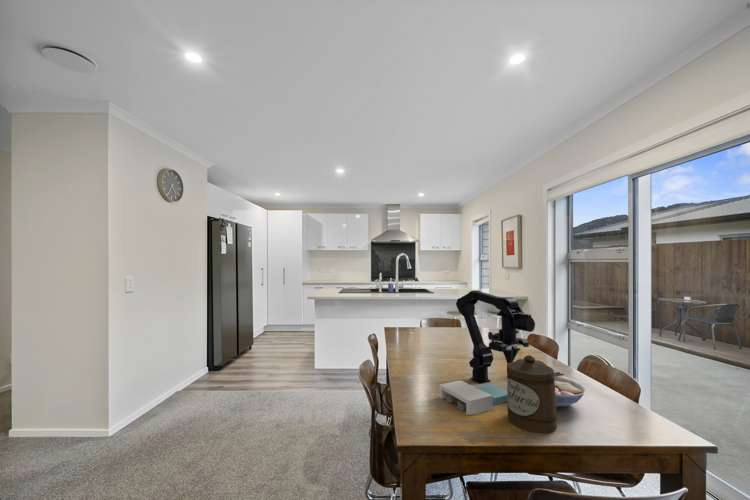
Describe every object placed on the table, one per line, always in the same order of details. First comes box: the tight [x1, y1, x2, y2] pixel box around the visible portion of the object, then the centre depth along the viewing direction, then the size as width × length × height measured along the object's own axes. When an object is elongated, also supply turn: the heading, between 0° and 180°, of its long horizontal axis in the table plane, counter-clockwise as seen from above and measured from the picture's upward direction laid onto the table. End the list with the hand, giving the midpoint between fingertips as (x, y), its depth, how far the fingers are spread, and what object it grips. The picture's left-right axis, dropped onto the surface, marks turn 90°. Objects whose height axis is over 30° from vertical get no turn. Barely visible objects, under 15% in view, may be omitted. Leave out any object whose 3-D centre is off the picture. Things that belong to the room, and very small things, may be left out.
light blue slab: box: [474, 382, 507, 405], centre depth 126 cm, size 10×12×2 cm
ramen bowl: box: [554, 371, 587, 408], centre depth 120 cm, size 25×23×8 cm
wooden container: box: [506, 354, 558, 434], centre depth 105 cm, size 15×15×22 cm
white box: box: [438, 380, 494, 416], centre depth 119 cm, size 11×17×5 cm, turn 25°
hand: (509, 364), depth 130 cm, fingers closed
